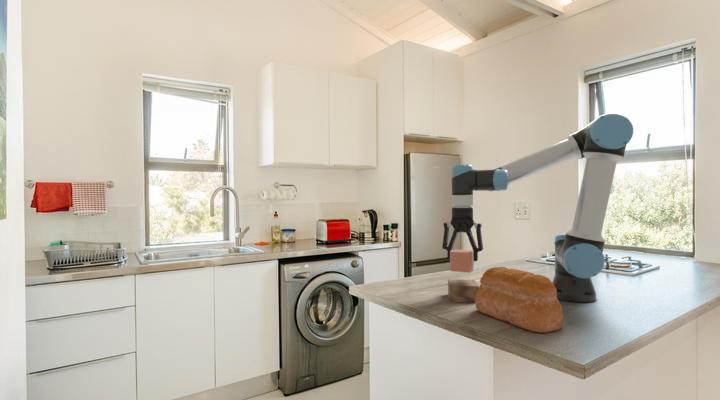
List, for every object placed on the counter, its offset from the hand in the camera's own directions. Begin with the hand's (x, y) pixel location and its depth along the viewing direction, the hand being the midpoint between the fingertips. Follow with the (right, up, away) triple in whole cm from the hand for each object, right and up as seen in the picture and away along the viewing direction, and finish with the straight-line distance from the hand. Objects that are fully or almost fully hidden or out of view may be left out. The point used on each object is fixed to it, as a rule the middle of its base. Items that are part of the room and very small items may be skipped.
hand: (462, 269), depth 144 cm
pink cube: (0, 0, 0) cm, 0 cm away
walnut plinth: (0, -11, 0) cm, 11 cm away
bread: (+10, -11, -24) cm, 29 cm away
